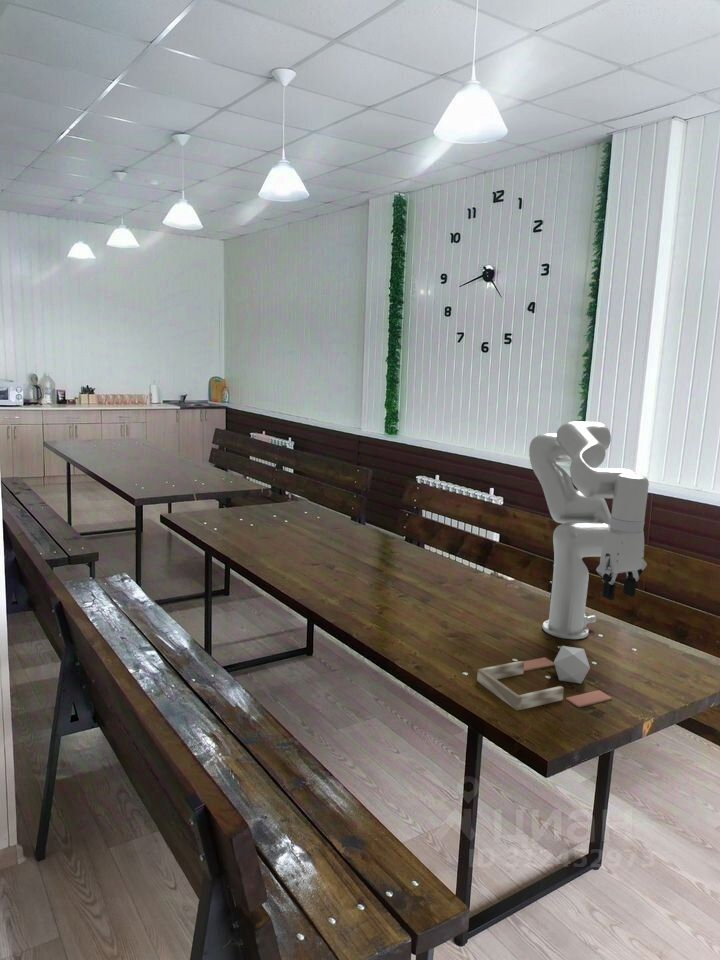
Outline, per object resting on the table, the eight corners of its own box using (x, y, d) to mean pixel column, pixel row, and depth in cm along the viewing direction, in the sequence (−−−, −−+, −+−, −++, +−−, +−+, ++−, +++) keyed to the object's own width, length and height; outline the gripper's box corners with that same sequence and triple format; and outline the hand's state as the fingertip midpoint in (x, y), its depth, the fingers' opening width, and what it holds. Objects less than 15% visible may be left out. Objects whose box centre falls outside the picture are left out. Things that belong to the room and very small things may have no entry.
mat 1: (544, 658, 183) (545, 657, 183) (555, 665, 180) (555, 663, 180) (513, 664, 179) (513, 663, 179) (523, 671, 175) (523, 669, 175)
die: (589, 677, 175) (571, 641, 178) (602, 675, 167) (583, 637, 170) (560, 691, 174) (542, 653, 176) (572, 690, 166) (552, 650, 168)
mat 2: (599, 691, 167) (599, 690, 167) (611, 699, 163) (611, 697, 163) (566, 699, 162) (566, 697, 162) (578, 707, 159) (578, 705, 159)
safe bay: (520, 672, 175) (521, 660, 174) (562, 700, 162) (563, 687, 161) (476, 681, 169) (477, 669, 169) (516, 710, 156) (517, 698, 156)
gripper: (640, 519, 178) (632, 588, 182) (588, 524, 171) (580, 595, 174) (665, 526, 172) (656, 597, 175) (611, 532, 164) (603, 606, 167)
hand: (618, 596), depth 174 cm, fingers open, 6 cm apart
